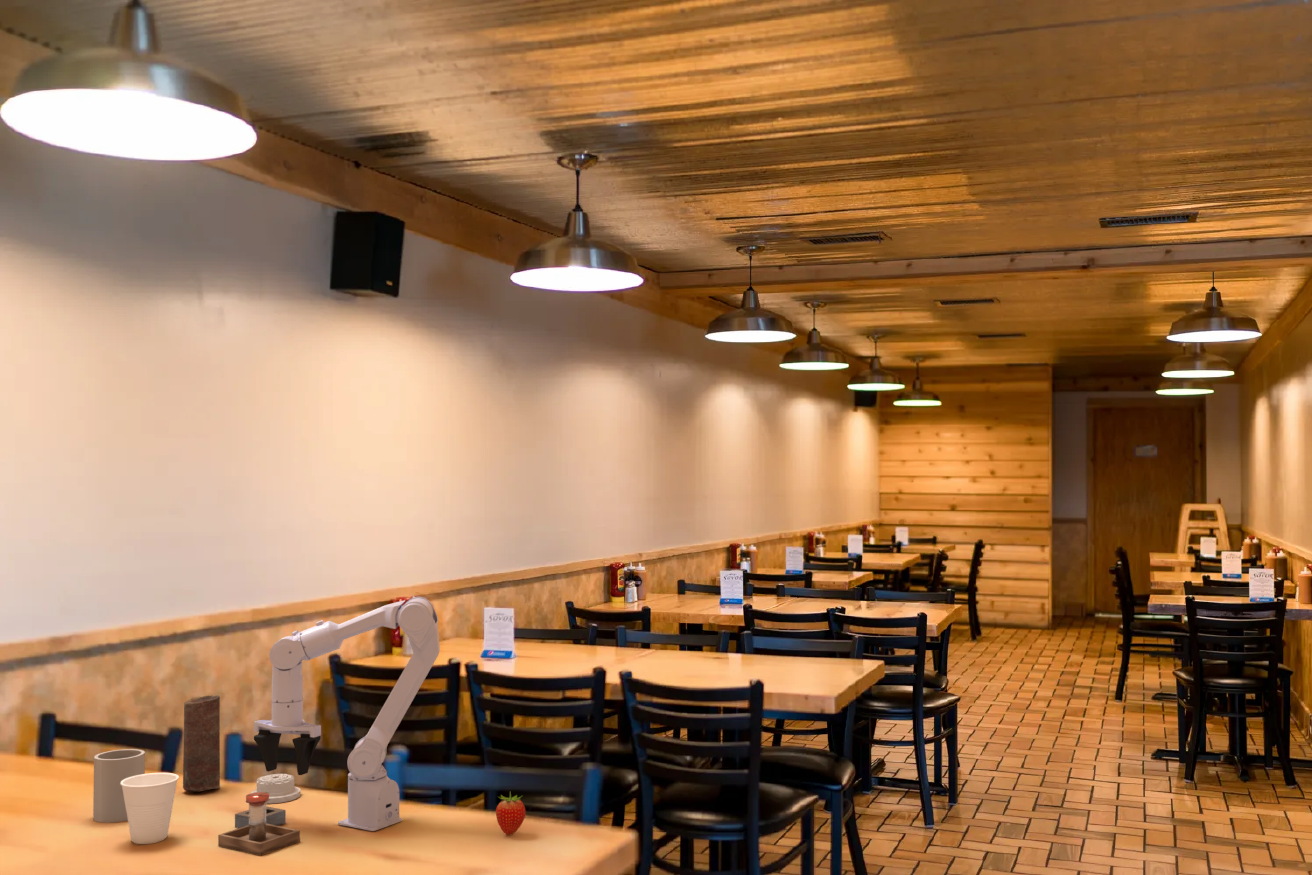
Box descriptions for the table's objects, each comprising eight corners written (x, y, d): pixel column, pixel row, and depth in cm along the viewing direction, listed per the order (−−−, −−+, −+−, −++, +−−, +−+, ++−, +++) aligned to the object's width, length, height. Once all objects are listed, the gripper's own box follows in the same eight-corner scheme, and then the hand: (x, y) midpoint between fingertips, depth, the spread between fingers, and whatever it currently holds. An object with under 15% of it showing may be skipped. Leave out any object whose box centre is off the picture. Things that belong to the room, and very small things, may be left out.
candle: (211, 795, 240) (211, 699, 241) (176, 796, 241) (177, 699, 241) (225, 786, 248) (225, 693, 249) (191, 786, 248) (192, 693, 249)
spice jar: (271, 835, 211) (271, 791, 211) (266, 842, 207) (266, 797, 207) (248, 836, 210) (249, 792, 210) (243, 843, 206) (243, 798, 207)
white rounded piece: (242, 805, 234) (290, 805, 234) (242, 783, 234) (290, 783, 234) (261, 792, 244) (307, 792, 244) (261, 771, 244) (307, 771, 244)
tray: (299, 841, 209) (299, 830, 209) (260, 855, 201) (260, 843, 201) (258, 832, 214) (258, 821, 215) (218, 846, 207) (218, 834, 207)
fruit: (513, 828, 215) (513, 785, 216) (530, 834, 212) (530, 791, 212) (490, 835, 212) (490, 791, 212) (507, 841, 208) (507, 796, 208)
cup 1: (82, 819, 224) (83, 757, 224) (120, 807, 232) (120, 747, 233) (117, 824, 221) (118, 761, 221) (154, 811, 229) (155, 751, 230)
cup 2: (121, 851, 204) (121, 788, 205) (118, 836, 213) (119, 776, 213) (181, 842, 209) (181, 781, 209) (176, 828, 218) (176, 769, 218)
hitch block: (285, 823, 220) (285, 809, 220) (258, 832, 215) (258, 818, 215) (262, 818, 224) (262, 805, 224) (234, 827, 218) (234, 813, 218)
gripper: (331, 699, 220) (331, 770, 220) (272, 694, 226) (271, 763, 225) (306, 705, 214) (306, 779, 213) (246, 700, 219) (245, 772, 219)
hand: (287, 772), depth 219 cm, fingers open, 7 cm apart
